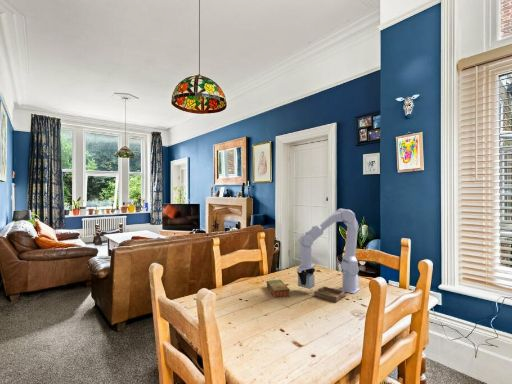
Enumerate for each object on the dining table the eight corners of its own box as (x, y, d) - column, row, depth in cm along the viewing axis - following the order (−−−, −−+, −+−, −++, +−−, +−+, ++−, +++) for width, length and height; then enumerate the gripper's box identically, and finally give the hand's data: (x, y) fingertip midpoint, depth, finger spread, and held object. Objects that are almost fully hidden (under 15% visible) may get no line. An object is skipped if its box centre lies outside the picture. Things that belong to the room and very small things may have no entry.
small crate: (303, 283, 149) (303, 272, 149) (314, 286, 144) (314, 274, 144) (298, 285, 145) (297, 274, 145) (309, 288, 140) (309, 277, 140)
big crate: (323, 290, 146) (323, 286, 146) (345, 296, 138) (345, 291, 138) (314, 296, 139) (314, 291, 139) (336, 302, 131) (336, 297, 131)
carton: (274, 298, 137) (274, 290, 137) (266, 287, 153) (266, 280, 153) (290, 297, 139) (289, 288, 139) (280, 286, 154) (280, 278, 154)
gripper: (306, 254, 152) (306, 278, 152) (291, 259, 142) (292, 285, 142) (318, 256, 148) (318, 280, 148) (303, 261, 137) (303, 288, 137)
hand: (306, 283), depth 144 cm, fingers closed on small crate, 5 cm apart
